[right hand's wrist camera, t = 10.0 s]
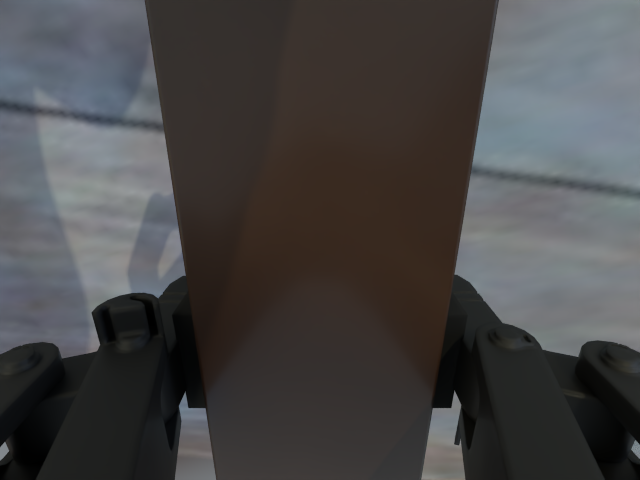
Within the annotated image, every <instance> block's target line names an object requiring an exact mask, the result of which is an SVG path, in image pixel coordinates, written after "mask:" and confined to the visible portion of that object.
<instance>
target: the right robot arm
mask: <svg viewBox="0 0 640 480" xmlns="http://www.w3.org/2000/svg"><path fill="white" fill-rule="evenodd" d="M92 316H93V320H94V323H95V327H96V331H97V334H98V338H99V341H100V347H99V349H98V351H96V352H93V353H88V354H83V355H78V356H73V357H68V358H63V359H62V358H61V355H60V352H59V349H58V347H57V346H55V345H54V344H52V343H45V342H40V343H32V344H25V345H23V346H18V347H15V348H13V349H11V350H9V351H7V352H5V353H3V354H0V447H1V445H2V444H3V443H4V442H6V444H7V447H8V449H9V452H8V453H7V455H6V456H5V457H4V458H3V459H2V460H1V461H0V480H175V471H176V463H177V454H178V446H179V437H180V429H181V416H180V410H179V404H180V402H181V400H182V398H183V395H184V393H185V391H186V397H187V402H188V408H206V407H205V400H204V393H203V386H202V380H201V373H200V366H199V360H198V353H197V346H196V340H195V333H194V326H193V319H192V313H191V306H190V299H189V293H188V286H187V279H186V276H182V277H180V278H179V279H177V280H176V281H174V282H172V283H171V284H170V285H169V286H168V287H167V288H166V290H165V291H164V292H163V295H161V296H160V297H159V298H157V297H155V296H154V295H152V294H147V293H131V294H126V295H121V296H118V297H115V298H112V299H109V300H107V301H105V302H104V303H102V304H100V305H99V306H97V307H96V308H95V309H94V311H93V312H92ZM454 390H455V392H456V394H457V396H458V398H459V401H460V403H461V410H460V415H459V421H458V426H457V431H456V436H455V443H454V444H455V445H459V443H460V438H461V445H462V453H463V462H464V470H465V479H466V480H640V459H639V458H638V457H637V456H636V455H635V454H634V453H633V451H632V450H631V448H632V446H633V444H634V441H635V440H636V441H637V442H638V443H639V444H640V353H639V352H637V351H635V350H633V349H630V348H629V347H627V346H624V345H621V344H618V343H614V342H606V341H590V342H587V343H585V344H584V345H583V346H582V348H581V351H580V354H579V357H575V356H570V355H565V354H560V353H555V352H550V351H546V350H542V348H541V346H540V344H539V343H538V342H537V340H536V339H535V338H534V337H533V336H532V335H530V334H529V333H527V332H526V331H524V330H522V329H520V328H517V327H515V326H512V325H508V324H504V323H502V322H501V321H500V319H499V318H498V317H497V316H496V315H495V313H494V312H493V311H492V310H491V308H490V307H489V306H488V305H487V303H486V302H485V301H483V298H482V297H481V296H480V295H479V294H477V291H476V290H475V288H474V287H473V286H472V285H471V284H470V282H468V281H466V280H465V279H463V278H461V277H460V276H458V275H454V279H453V285H452V291H451V298H450V304H449V310H448V316H447V322H446V328H445V335H444V341H443V347H442V353H441V359H440V365H439V372H438V378H437V384H436V390H435V396H434V402H433V408H451V406H452V401H453V395H454Z"/></svg>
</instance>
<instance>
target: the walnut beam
mask: <svg viewBox="0 0 640 480" xmlns="http://www.w3.org/2000/svg"><path fill="white" fill-rule="evenodd" d="M498 1H499V0H145V5H146V11H147V18H148V25H149V31H150V38H151V45H152V52H153V58H154V65H155V72H156V78H157V85H158V92H159V98H160V105H161V112H162V119H163V125H164V132H165V139H166V145H167V152H168V159H169V165H170V172H171V179H172V185H173V192H174V199H175V206H176V212H177V219H178V226H179V232H180V239H181V246H182V252H183V259H184V266H185V273H186V279H187V286H188V293H189V299H190V306H191V313H192V319H193V326H194V333H195V340H196V346H197V353H198V360H199V366H200V373H201V380H202V386H203V393H204V400H205V407H206V413H207V420H208V427H209V433H210V440H211V447H212V453H213V460H214V467H215V474H216V480H421V477H422V470H423V464H424V458H425V452H426V446H427V439H428V433H429V427H430V421H431V415H432V409H433V402H434V396H435V390H436V384H437V378H438V372H439V365H440V359H441V353H442V347H443V341H444V335H445V328H446V322H447V316H448V310H449V304H450V298H451V291H452V285H453V279H454V273H455V267H456V261H457V254H458V248H459V242H460V236H461V230H462V224H463V217H464V211H465V205H466V199H467V193H468V187H469V180H470V174H471V168H472V162H473V156H474V150H475V143H476V137H477V131H478V125H479V119H480V112H481V106H482V100H483V94H484V88H485V82H486V75H487V69H488V63H489V57H490V51H491V45H492V38H493V32H494V26H495V20H496V14H497V8H498Z"/></svg>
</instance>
